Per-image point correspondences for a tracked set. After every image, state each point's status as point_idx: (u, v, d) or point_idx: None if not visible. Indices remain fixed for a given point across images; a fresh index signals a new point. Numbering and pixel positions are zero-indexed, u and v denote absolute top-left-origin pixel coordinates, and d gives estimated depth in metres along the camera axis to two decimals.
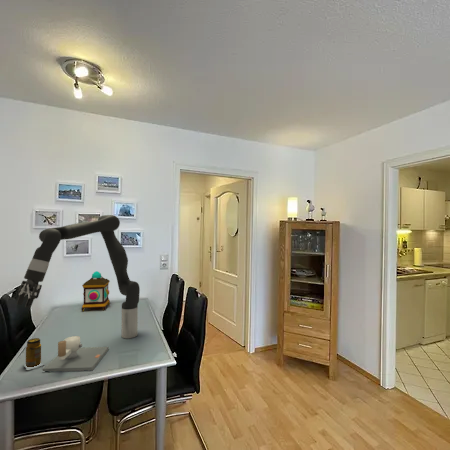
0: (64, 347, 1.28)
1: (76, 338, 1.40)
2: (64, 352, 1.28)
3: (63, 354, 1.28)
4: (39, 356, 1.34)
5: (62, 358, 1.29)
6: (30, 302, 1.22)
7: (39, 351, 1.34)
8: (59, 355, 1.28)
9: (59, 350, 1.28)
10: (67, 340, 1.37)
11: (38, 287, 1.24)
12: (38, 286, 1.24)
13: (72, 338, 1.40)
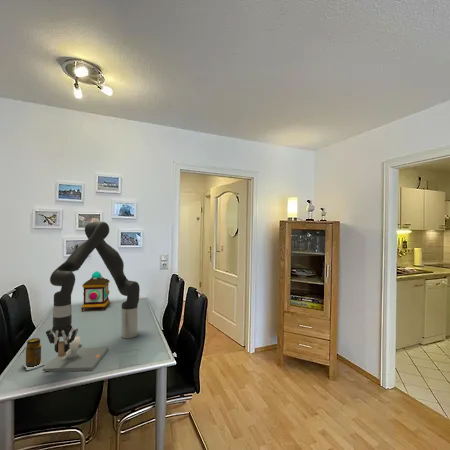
0: None
1: (76, 338, 1.40)
2: (64, 352, 1.28)
3: (63, 354, 1.28)
4: (39, 356, 1.34)
5: (62, 358, 1.29)
6: (68, 346, 1.29)
7: (39, 351, 1.34)
8: (59, 355, 1.28)
9: (59, 350, 1.28)
10: None
11: (76, 332, 1.30)
12: (76, 332, 1.29)
13: None
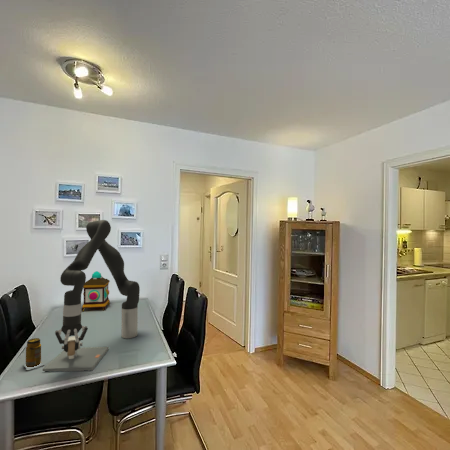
0: (74, 346, 1.30)
1: None
2: (74, 351, 1.30)
3: (74, 353, 1.30)
4: (39, 356, 1.34)
5: (72, 357, 1.30)
6: (78, 344, 1.32)
7: (39, 351, 1.34)
8: (70, 354, 1.29)
9: (70, 349, 1.29)
10: (68, 340, 1.37)
11: None
12: None
13: (72, 338, 1.39)
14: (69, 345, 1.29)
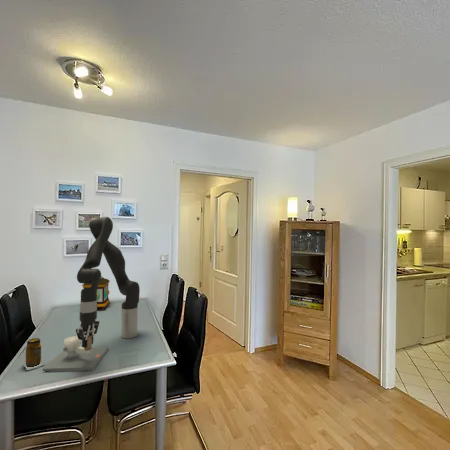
0: None
1: (74, 337, 1.41)
2: None
3: (91, 346, 1.36)
4: (39, 356, 1.34)
5: (88, 351, 1.36)
6: None
7: (39, 351, 1.34)
8: (89, 348, 1.35)
9: (89, 344, 1.35)
10: (72, 340, 1.37)
11: None
12: None
13: (71, 338, 1.39)
14: (89, 340, 1.35)
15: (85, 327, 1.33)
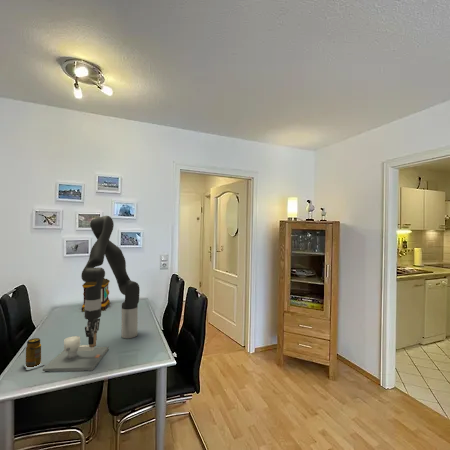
0: None
1: (73, 337, 1.41)
2: None
3: None
4: (39, 356, 1.34)
5: (93, 348, 1.40)
6: None
7: (39, 351, 1.34)
8: (95, 345, 1.39)
9: (95, 340, 1.39)
10: (74, 340, 1.38)
11: None
12: None
13: (71, 339, 1.39)
14: (94, 336, 1.39)
15: (92, 324, 1.37)
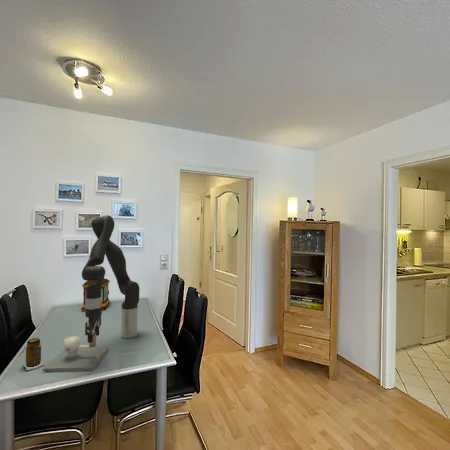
0: None
1: (73, 337, 1.41)
2: None
3: None
4: (39, 356, 1.34)
5: (93, 348, 1.40)
6: None
7: (39, 351, 1.34)
8: (95, 345, 1.39)
9: (95, 340, 1.39)
10: (74, 340, 1.38)
11: None
12: None
13: (71, 339, 1.39)
14: (95, 336, 1.39)
15: (93, 321, 1.37)
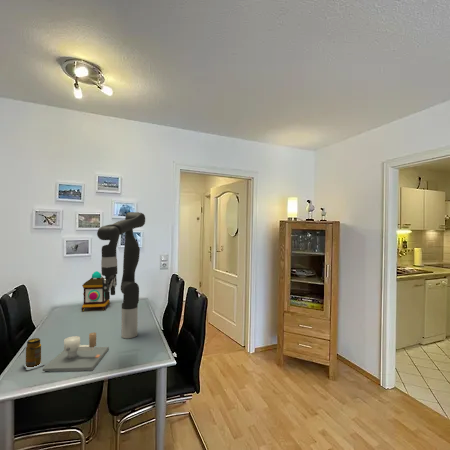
0: None
1: (73, 337, 1.41)
2: None
3: None
4: (39, 356, 1.34)
5: (93, 348, 1.40)
6: None
7: (39, 351, 1.34)
8: (95, 345, 1.39)
9: (95, 340, 1.39)
10: (74, 340, 1.38)
11: None
12: None
13: (71, 339, 1.39)
14: (95, 336, 1.39)
15: (109, 279, 1.40)
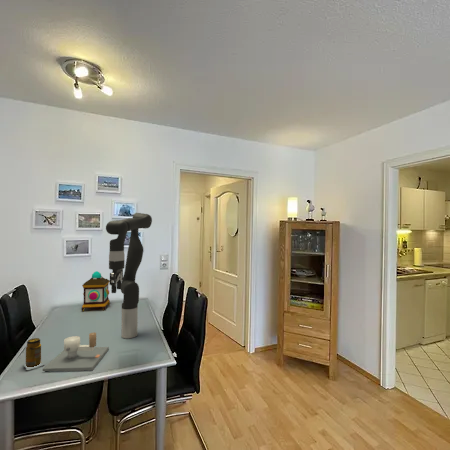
0: None
1: (73, 337, 1.41)
2: None
3: None
4: (39, 356, 1.34)
5: (93, 348, 1.40)
6: None
7: (39, 351, 1.34)
8: (95, 345, 1.39)
9: (95, 340, 1.39)
10: (74, 340, 1.38)
11: None
12: None
13: (71, 339, 1.39)
14: (95, 336, 1.39)
15: (117, 273, 1.42)
